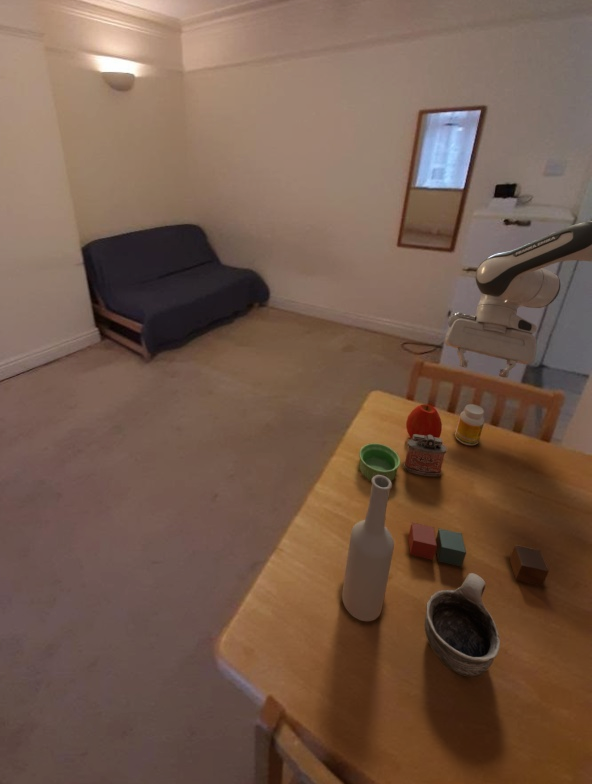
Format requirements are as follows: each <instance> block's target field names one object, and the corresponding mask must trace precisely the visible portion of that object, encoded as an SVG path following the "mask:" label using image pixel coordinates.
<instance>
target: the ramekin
mask: <svg viewBox="0 0 592 784" xmlns="http://www.w3.org/2000/svg"><path fill="white" fill-rule="evenodd" d="M358 456H359V457H358V458H359V470H360V473H362V475H363V476H364V477H365V478H366V479H368V480H369V481H372V478H373V477H374V476H376V475H382V476H385V477H387V478H388V479H389V480H390V481H391V482H392V481H393V480H395V477H396V476H397V472H398V469H399V468H400V464H401V459H400V456H399V454H398V453H397V452H396V451H395V450H394V448H391V447H390V446H388V445H385V444H382V443H378V442H377V443H376V442H374V443H368V444H365V445H362V447H361V448H360V449H359V452H358Z"/></svg>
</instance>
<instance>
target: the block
mask: <svg viewBox="0 0 592 784" xmlns="http://www.w3.org/2000/svg"><path fill="white" fill-rule="evenodd" d="M435 537H436V543H437V547H436V551H435V553H436V558H437V562H441V563H444V564H449V565H452V566H457V567H463V564H464V560H465V557H466V555H467V549H466V545H465V541H464V537H463V533H462V532H458V531H452V530H448V529H445V528H438V529H437V533H436V536H435Z"/></svg>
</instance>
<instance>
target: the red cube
mask: <svg viewBox="0 0 592 784" xmlns="http://www.w3.org/2000/svg"><path fill="white" fill-rule="evenodd" d="M436 537H437V536H436V532H435V527H433V526H430V525H426V524H420V523H417V522H411V523H410V527H409V532H408V546H409V554H410V555H411V556H414V557H420V558H423V559H428V560H434V558H435V555H436V547H437V543H436Z"/></svg>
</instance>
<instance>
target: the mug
mask: <svg viewBox="0 0 592 784" xmlns="http://www.w3.org/2000/svg"><path fill="white" fill-rule="evenodd" d="M486 585H487V584H486V582H485V580H484V579H483V578H482V577H481V576H480V575H478V574H476V573H473V572H469V573H468V574H467V576H466V577H465V579H464V581H463V582H462V584H461V586H459V587H457V588H456V589H453V590H450V589H443V590H438V591H436V592H435V593H433V594H431V596H430V598H429V599H428V600H427V603H426V606H425V608H426V609H425V611H426V614H425V617H424V631H425V636H426V639H427V642H428V645H429V646H430V648H431V649H432V651H433V653H434V654H435V656H436V657H437V658H438V659H439V661H440V662H442V663H443V665H445V666H446V667H447V668H448V669H450V670H451V671H453V672H454V673H456V674H458V675H460V676H465V677H477V676H480V675H482V674H484V673H486V672H487V671H488V670H489V668H491V666H492V664H493V662H494V660H495V659H496V658H497V656H498V655H499V653H500V649H501V640H500V634H499V630H498V628H497V625H496V622H495V620H494V618H493V616H492V614H491V613H490V612H489V610H488V609H487V607H486V606H485V604H484V602H483V600H482V599H483V595H484V592H485V589H486Z"/></svg>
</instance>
